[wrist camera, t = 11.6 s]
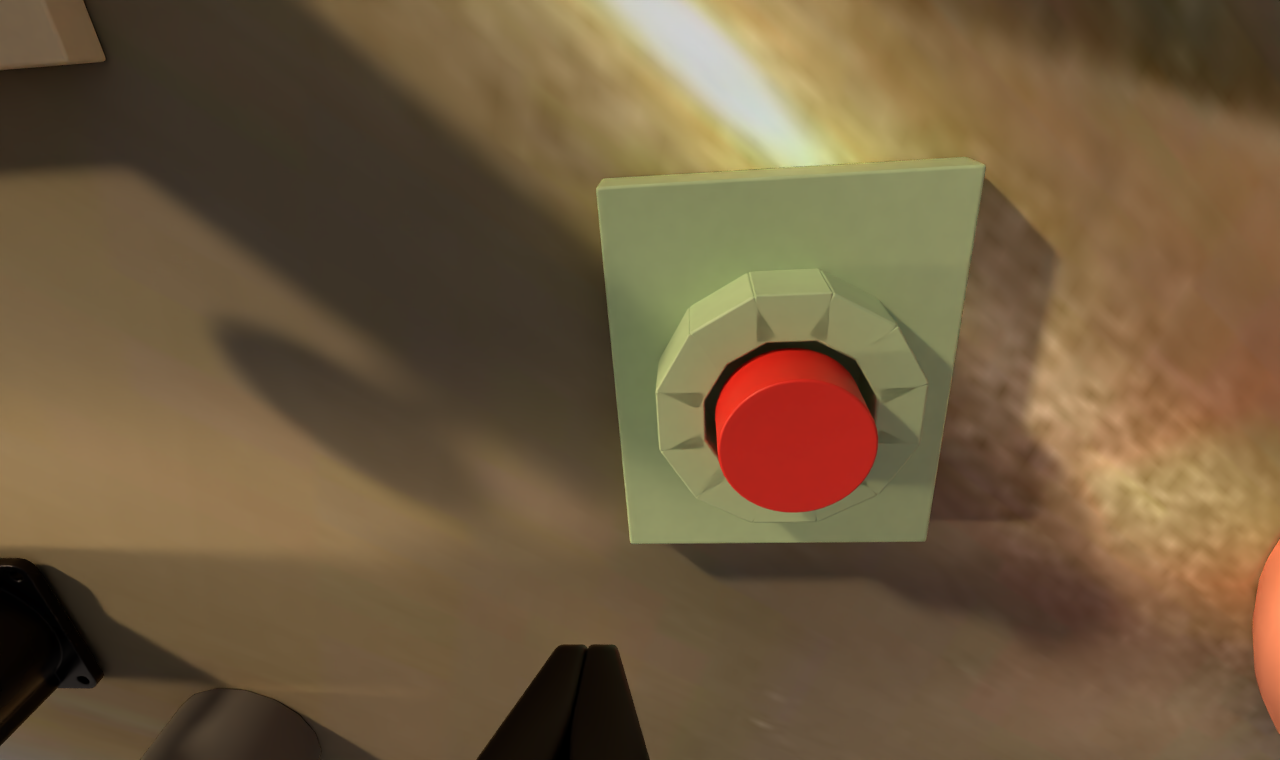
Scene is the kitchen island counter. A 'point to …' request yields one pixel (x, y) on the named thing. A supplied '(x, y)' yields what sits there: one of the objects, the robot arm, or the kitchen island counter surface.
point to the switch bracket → (46, 34)
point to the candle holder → (234, 730)
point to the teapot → (1268, 635)
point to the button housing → (784, 329)
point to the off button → (794, 431)
